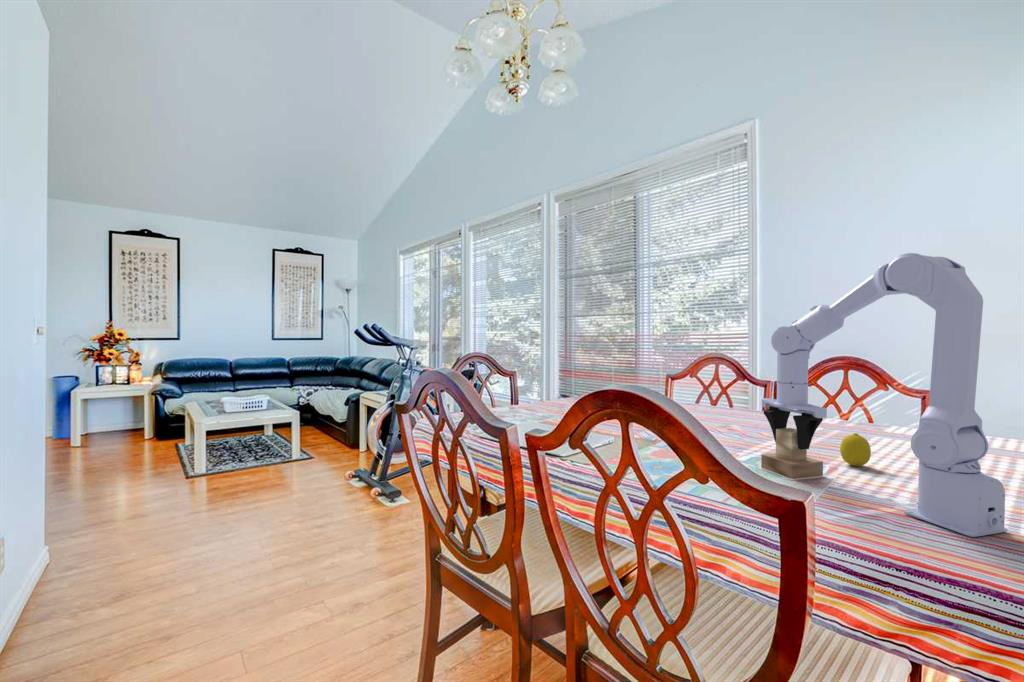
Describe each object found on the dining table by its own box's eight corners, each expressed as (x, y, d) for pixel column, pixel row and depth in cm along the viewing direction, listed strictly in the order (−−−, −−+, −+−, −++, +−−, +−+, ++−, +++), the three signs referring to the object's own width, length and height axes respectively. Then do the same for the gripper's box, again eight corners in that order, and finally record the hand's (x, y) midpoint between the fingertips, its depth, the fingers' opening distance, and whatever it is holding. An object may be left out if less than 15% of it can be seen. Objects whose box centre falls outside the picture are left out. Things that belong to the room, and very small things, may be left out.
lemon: (871, 473, 98) (871, 437, 98) (839, 468, 101) (840, 433, 101) (870, 467, 102) (870, 432, 102) (840, 463, 106) (840, 429, 106)
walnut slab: (822, 475, 94) (822, 461, 94) (792, 478, 92) (792, 464, 92) (790, 465, 102) (790, 451, 102) (761, 467, 100) (761, 454, 100)
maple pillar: (806, 459, 96) (806, 431, 96) (791, 461, 95) (791, 432, 95) (790, 454, 100) (790, 427, 100) (775, 456, 99) (776, 428, 99)
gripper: (750, 379, 103) (750, 438, 103) (807, 387, 89) (806, 455, 89) (776, 379, 105) (775, 437, 105) (835, 386, 91) (834, 453, 91)
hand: (791, 445), depth 97 cm, fingers open, 5 cm apart
